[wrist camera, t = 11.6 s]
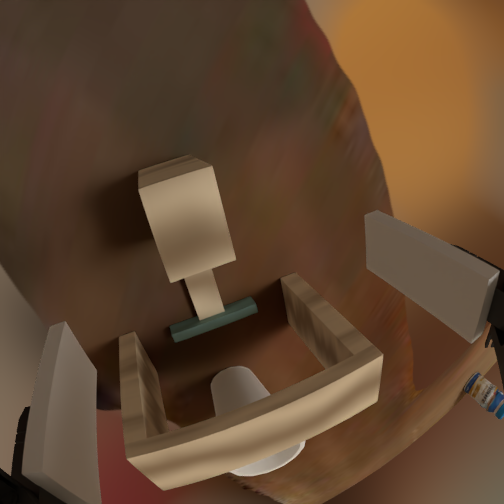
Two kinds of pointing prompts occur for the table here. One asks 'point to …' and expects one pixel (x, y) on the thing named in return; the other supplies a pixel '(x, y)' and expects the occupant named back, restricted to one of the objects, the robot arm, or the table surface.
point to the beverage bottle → (486, 394)
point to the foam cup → (238, 395)
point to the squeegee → (191, 238)
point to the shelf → (254, 414)
